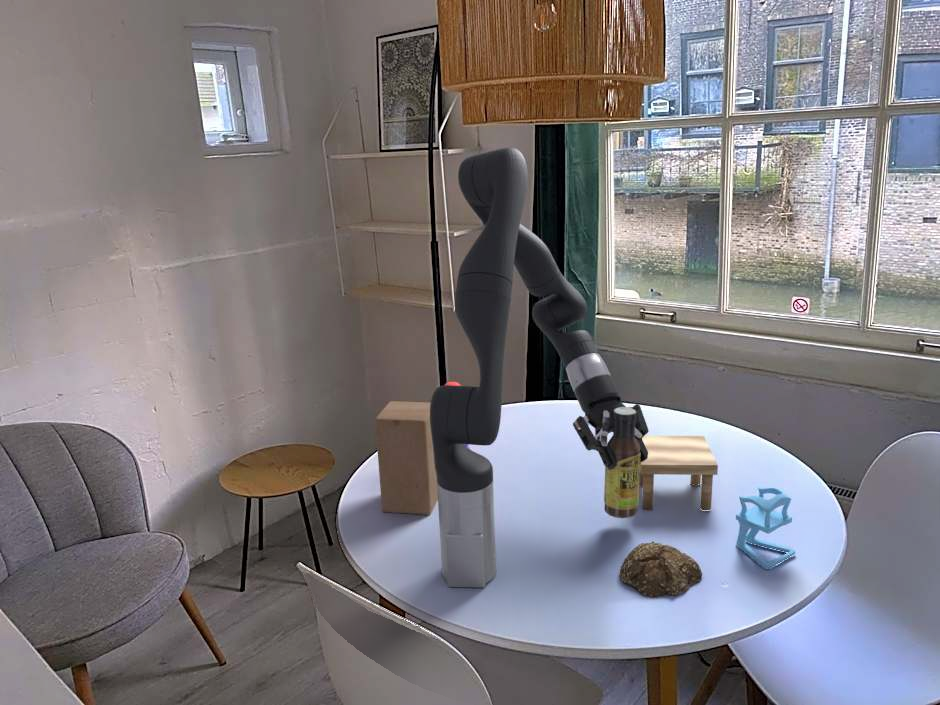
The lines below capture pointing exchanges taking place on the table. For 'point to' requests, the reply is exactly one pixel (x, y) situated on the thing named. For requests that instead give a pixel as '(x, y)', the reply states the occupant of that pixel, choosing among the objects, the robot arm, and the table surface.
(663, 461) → the small wooden side table
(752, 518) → the chair
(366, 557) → the table surface
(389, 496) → the wooden block
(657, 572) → the bread roll
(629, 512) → the sauce bottle
